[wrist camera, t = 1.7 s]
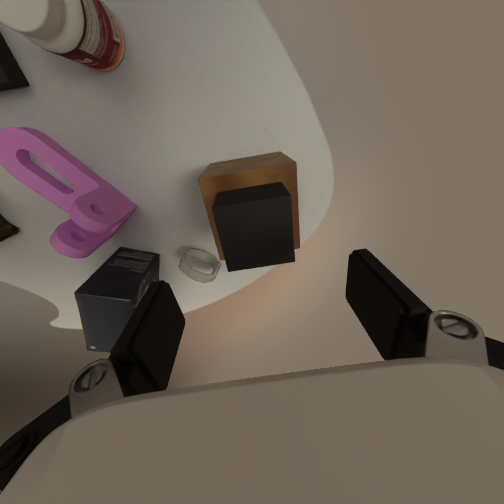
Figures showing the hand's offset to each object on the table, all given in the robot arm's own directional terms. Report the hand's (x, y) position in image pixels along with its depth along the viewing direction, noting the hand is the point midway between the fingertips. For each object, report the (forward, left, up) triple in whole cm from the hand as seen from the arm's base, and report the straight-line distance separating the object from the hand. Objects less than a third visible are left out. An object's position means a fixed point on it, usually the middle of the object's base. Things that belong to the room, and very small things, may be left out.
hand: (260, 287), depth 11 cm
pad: (0, 0, -9) cm, 9 cm away
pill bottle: (+11, -16, -18) cm, 26 cm away
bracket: (+20, -5, -18) cm, 27 cm away
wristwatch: (+8, +7, -18) cm, 20 cm away
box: (+18, +9, -18) cm, 27 cm away
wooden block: (0, 0, -17) cm, 17 cm away
